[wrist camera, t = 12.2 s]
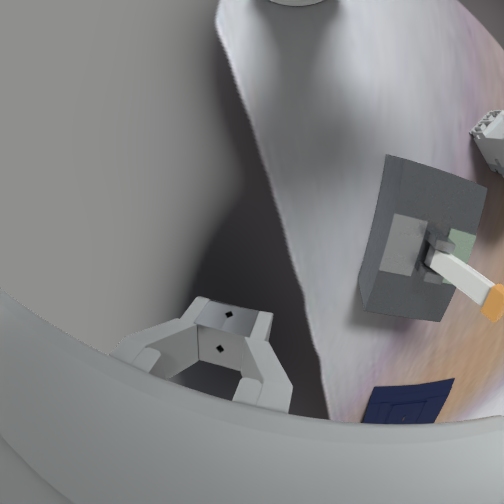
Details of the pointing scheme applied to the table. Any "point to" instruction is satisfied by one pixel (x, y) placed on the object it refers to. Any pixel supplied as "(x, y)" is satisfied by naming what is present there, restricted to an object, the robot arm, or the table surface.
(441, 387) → the dark blue panel
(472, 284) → the lever
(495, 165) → the circuit breaker
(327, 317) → the table surface
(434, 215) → the box
